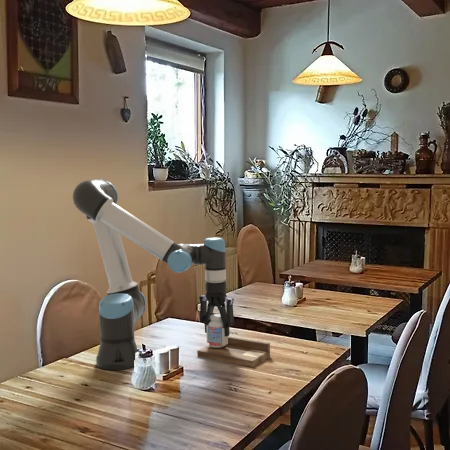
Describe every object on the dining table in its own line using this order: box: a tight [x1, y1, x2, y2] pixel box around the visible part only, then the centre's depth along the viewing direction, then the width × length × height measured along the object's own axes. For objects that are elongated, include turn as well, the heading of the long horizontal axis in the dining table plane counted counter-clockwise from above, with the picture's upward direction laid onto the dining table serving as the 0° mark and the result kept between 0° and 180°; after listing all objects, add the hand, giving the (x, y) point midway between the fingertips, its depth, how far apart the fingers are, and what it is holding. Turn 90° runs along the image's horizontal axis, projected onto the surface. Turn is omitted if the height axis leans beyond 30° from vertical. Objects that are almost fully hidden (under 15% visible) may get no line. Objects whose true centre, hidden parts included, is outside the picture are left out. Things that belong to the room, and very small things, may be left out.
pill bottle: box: [208, 313, 224, 348], centre depth 214 cm, size 6×6×11 cm
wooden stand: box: [196, 335, 271, 367], centre depth 210 cm, size 12×23×5 cm, turn 56°
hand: (217, 343), depth 215 cm, fingers closed on pill bottle, 6 cm apart
